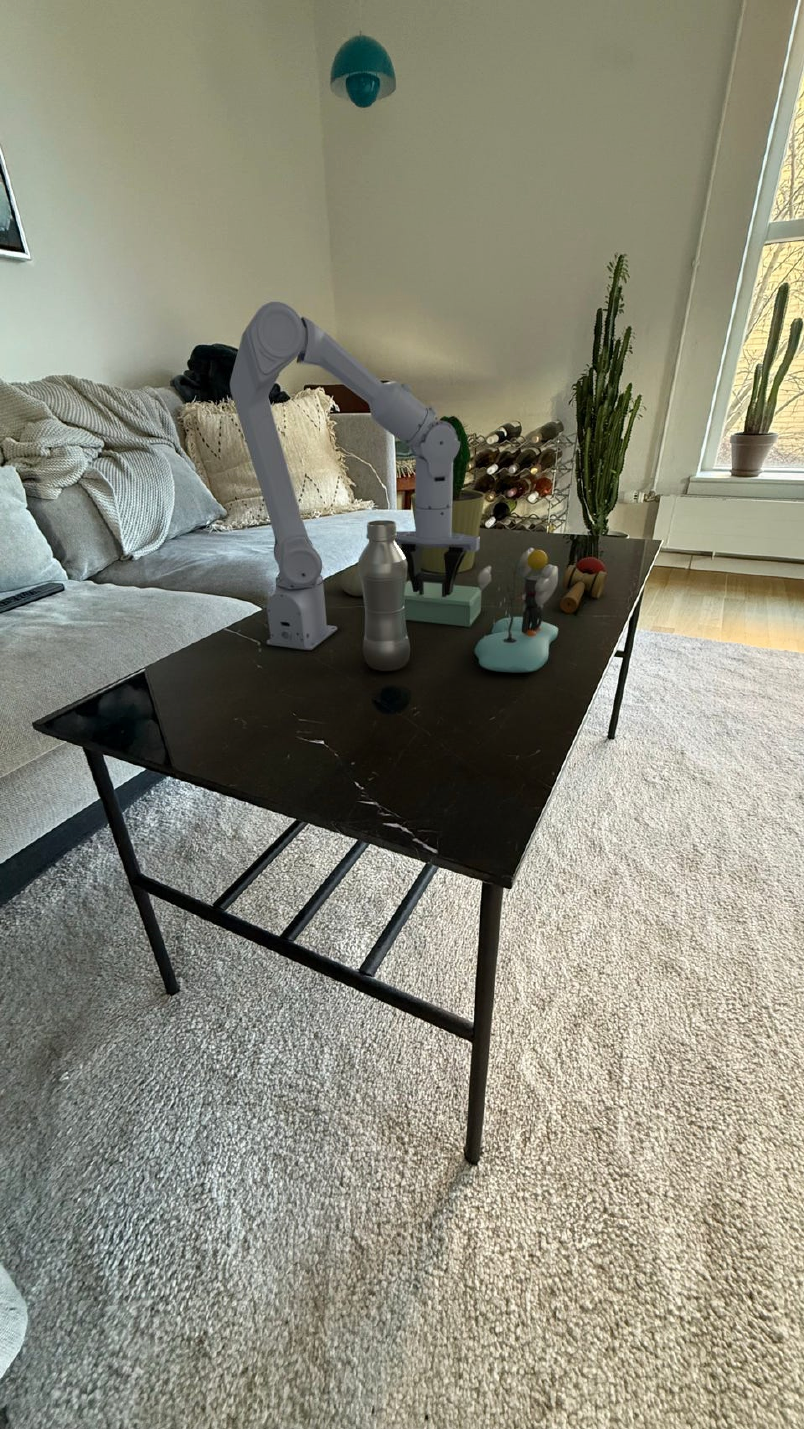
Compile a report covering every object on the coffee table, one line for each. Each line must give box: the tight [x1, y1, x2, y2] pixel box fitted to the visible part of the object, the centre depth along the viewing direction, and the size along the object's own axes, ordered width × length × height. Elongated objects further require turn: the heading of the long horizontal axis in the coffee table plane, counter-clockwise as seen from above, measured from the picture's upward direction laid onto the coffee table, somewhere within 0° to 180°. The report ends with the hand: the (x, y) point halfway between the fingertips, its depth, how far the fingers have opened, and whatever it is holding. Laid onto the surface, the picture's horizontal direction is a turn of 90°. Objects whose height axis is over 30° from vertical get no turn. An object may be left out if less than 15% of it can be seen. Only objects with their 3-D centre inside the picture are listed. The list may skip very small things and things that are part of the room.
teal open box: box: [404, 592, 482, 628], centre depth 102 cm, size 7×13×4 cm, turn 70°
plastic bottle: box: [357, 519, 411, 672], centre depth 80 cm, size 6×7×20 cm
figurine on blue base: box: [474, 547, 559, 674], centre depth 85 cm, size 20×11×15 cm, turn 156°
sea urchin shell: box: [339, 564, 363, 597], centre depth 115 cm, size 9×8×8 cm
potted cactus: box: [410, 415, 486, 574], centre depth 123 cm, size 15×15×30 cm
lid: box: [405, 571, 482, 606], centre depth 100 cm, size 8×13×4 cm, turn 69°
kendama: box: [559, 556, 608, 614], centre depth 108 cm, size 8×6×18 cm
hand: (433, 591), depth 98 cm, fingers closed on lid, 5 cm apart
